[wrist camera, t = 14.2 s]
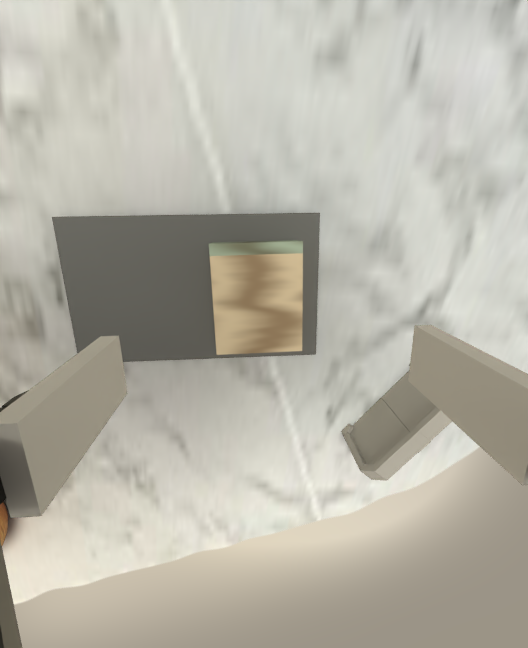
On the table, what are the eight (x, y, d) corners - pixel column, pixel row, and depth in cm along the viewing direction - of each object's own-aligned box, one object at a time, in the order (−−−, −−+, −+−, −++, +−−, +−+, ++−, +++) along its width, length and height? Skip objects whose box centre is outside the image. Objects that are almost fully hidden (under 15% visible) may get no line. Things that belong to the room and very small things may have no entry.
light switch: (340, 430, 38) (364, 480, 30) (417, 356, 36) (463, 389, 28) (351, 439, 38) (377, 490, 31) (427, 365, 36) (475, 401, 29)
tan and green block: (297, 340, 34) (297, 240, 31) (302, 351, 31) (302, 241, 28) (218, 344, 33) (212, 242, 30) (216, 354, 30) (208, 244, 28)
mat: (82, 361, 33) (79, 363, 33) (55, 217, 30) (52, 217, 29) (314, 352, 35) (315, 354, 34) (318, 213, 31) (319, 212, 30)
